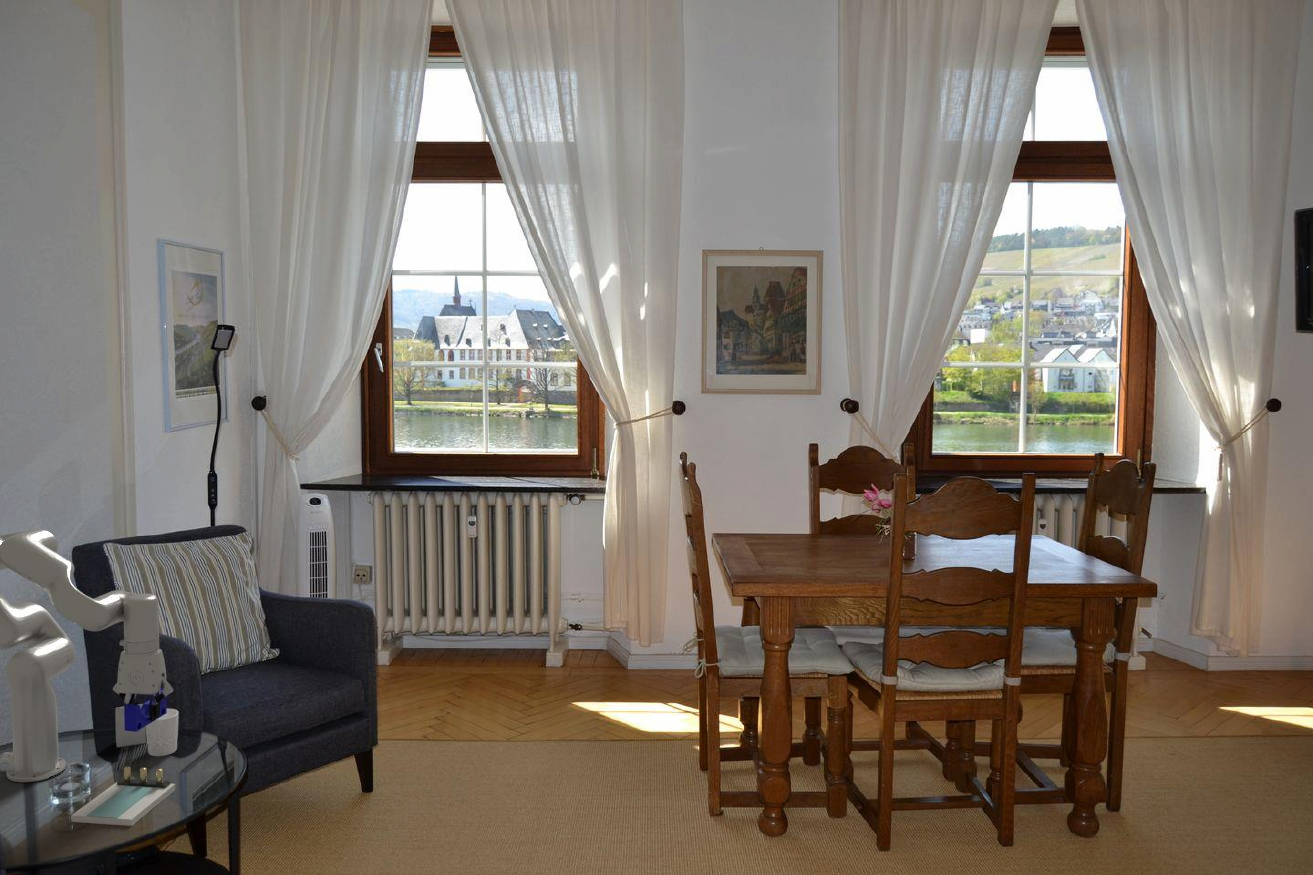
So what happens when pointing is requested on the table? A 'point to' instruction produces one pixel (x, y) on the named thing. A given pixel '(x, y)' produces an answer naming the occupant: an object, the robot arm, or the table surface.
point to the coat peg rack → (143, 779)
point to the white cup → (163, 734)
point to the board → (122, 805)
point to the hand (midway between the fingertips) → (143, 717)
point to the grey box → (127, 736)
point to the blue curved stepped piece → (141, 714)
